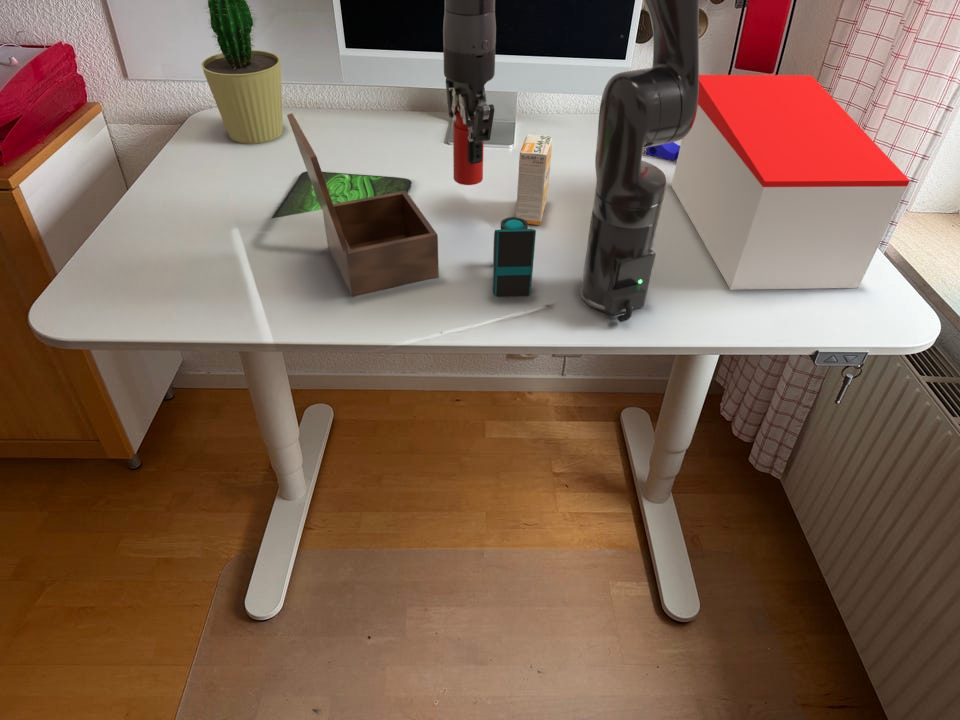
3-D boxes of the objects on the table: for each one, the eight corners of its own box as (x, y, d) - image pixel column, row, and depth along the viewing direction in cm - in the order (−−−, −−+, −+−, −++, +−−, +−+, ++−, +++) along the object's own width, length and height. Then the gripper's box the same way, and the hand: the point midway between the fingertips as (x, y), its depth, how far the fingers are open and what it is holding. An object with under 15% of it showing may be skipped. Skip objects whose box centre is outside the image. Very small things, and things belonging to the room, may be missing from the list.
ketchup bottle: (487, 182, 109) (489, 107, 101) (460, 187, 108) (460, 111, 100) (475, 169, 112) (477, 96, 104) (449, 174, 111) (448, 100, 103)
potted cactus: (293, 145, 141) (265, -15, 121) (216, 150, 138) (175, -13, 118) (292, 116, 152) (267, -34, 132) (221, 121, 149) (184, -32, 129)
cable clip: (645, 153, 141) (651, 125, 137) (653, 146, 144) (659, 118, 140) (701, 168, 136) (708, 139, 132) (708, 160, 139) (715, 132, 135)
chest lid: (292, 112, 94) (286, 114, 94) (316, 155, 84) (310, 157, 84) (323, 202, 104) (318, 203, 104) (348, 249, 94) (343, 251, 94)
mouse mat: (382, 258, 109) (381, 253, 108) (252, 248, 111) (250, 242, 110) (414, 182, 129) (413, 177, 129) (303, 173, 131) (302, 168, 130)
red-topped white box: (773, 184, 131) (810, 74, 118) (858, 287, 105) (918, 162, 92) (670, 184, 130) (695, 74, 117) (729, 289, 104) (770, 163, 90)
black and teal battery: (527, 196, 101) (536, 231, 93) (522, 263, 109) (530, 300, 101) (490, 196, 100) (496, 231, 93) (488, 264, 108) (493, 301, 101)
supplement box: (541, 226, 118) (548, 155, 109) (514, 223, 118) (518, 152, 110) (547, 204, 124) (554, 135, 115) (521, 201, 124) (526, 132, 116)
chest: (408, 235, 114) (405, 190, 109) (439, 281, 104) (437, 234, 99) (328, 251, 110) (321, 205, 105) (352, 301, 100) (346, 253, 95)
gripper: (427, 31, 100) (431, 141, 111) (464, 61, 90) (463, 178, 101) (474, 26, 102) (472, 134, 113) (514, 55, 92) (508, 170, 104)
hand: (468, 155), depth 107 cm, fingers closed on ketchup bottle, 5 cm apart
